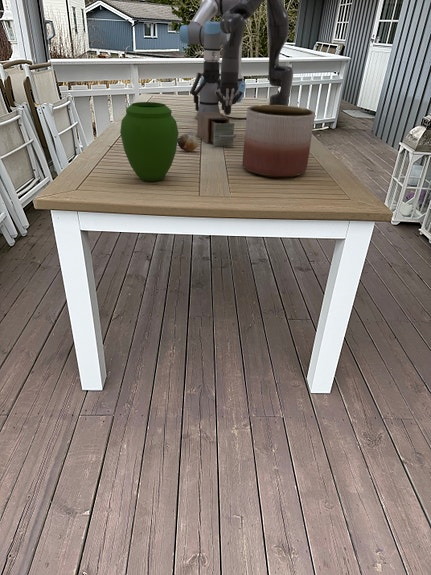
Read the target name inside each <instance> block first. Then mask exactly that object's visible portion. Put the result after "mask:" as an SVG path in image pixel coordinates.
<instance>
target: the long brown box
mask: <svg viewBox="0 0 431 575" xmlns="http://www.w3.org/2000/svg"><path fill="white" fill-rule="evenodd" d="M224 115H225V114H222V113H221V112H220V113H219V112H198V119H197V122H196V123H197V124H196V125H197V126H196V127H197V129H196V130H197V132H196V136H197V137H198V138H200V139H201V140H202V141H204V142H205V143H206V144H208V145H209V144H213V143H212V142H211V141H210V140H209V131H210V120H226V121H228V122H230V118H228V117H226V116H227V115H225V116H224Z"/></svg>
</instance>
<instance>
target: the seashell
mask: <svg viewBox="0 0 431 575" xmlns="http://www.w3.org/2000/svg"><path fill="white" fill-rule="evenodd" d="M199 145H200V143H199V140H198V138H197V137H195V135H194V134H193V132H192V131H189V132H187V133H184V134H182V135H180V137H178V141H177V146H178V147H179V149H180V150H183V151H185V152H192V151H194V150H196V149H197V148H198V147H200V146H199Z"/></svg>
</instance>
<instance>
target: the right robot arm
mask: <svg viewBox="0 0 431 575" xmlns="http://www.w3.org/2000/svg"><path fill="white" fill-rule="evenodd" d="M265 1H266V11H267V12H266V13H267V14H266V15H267V36H268V37H267V38H268V82H269V85H270V86H271V87H276V88H280V90H279V91H278V92H277V93H274V94H271V95H270V96H269V103H268V105H284V106H289V100H290V96H291V93H292V92H291V91H292V84H293V79H294V70H293V69H294V68H293V67H292V66H288V65H282V64H281V65H280V55H281V52H282V49H283V48H284V46H285V45H286V44H285V43H286V42H287V40H288V37H289V33H290V29H289V28H290V26H289V25H290V24H289V22H290V21H289V14H288V11H287V9H286V7H285V5H284V2H283V0H240V1H239V2H238V3H237V4H236V5H234V6H233V7H232V8H230V9H229V10H228V11H226V12H225V13H224V15H221V17H220V20H219V22H220V29H221V31H222V32H223V33H225V34H230V38H229V40H228V41H227V40H226V42H224V43H223V44H222V49H221V50H222V52H221V62H220V73H221V76H220V86H219V89H218V90H217V91H214V94H215V95H216V97H217V98H218V100H219V104H221V105H222V104H224V110H223V113H224V115H225V116H230V114H231V113H232V106H233V105H236V104H237V101H238V100H239V98H240V97H241V95H242V94H243V92H241V91H240V90H239V89H238V74H239V59H238V58H239V48H240V44H241V41H242V37H243V38H244V34H245V29H246V22H245V20H246V19H247V20H248V19H250V18H251V17H252V16H253V14H255V12H256V11H257V10H258V8H259V7H260V6H261V5H262V4H263V3H264V2H265ZM220 91H221V93H222V95H223V99H224V100H223V99H222V97H221V96H220V94H221V93H220ZM235 93H236V96H235V97H234V98H233V96H234V95H235Z"/></svg>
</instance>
